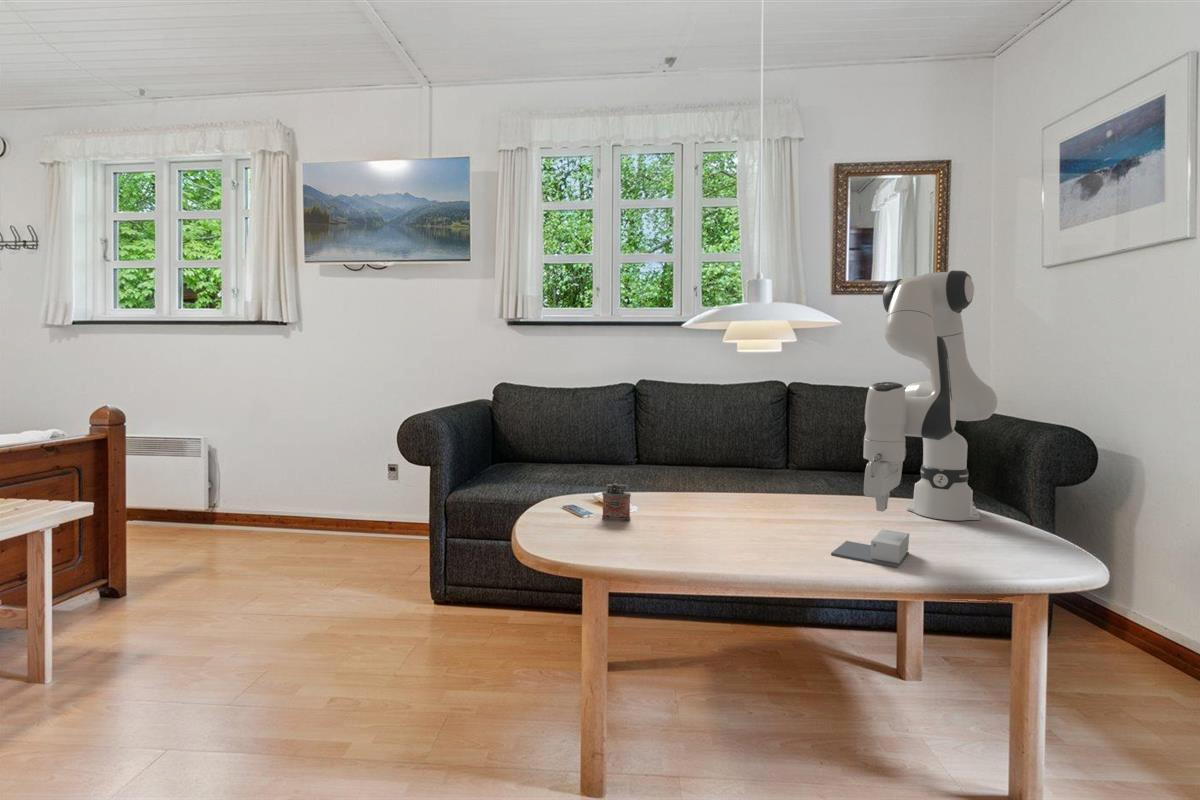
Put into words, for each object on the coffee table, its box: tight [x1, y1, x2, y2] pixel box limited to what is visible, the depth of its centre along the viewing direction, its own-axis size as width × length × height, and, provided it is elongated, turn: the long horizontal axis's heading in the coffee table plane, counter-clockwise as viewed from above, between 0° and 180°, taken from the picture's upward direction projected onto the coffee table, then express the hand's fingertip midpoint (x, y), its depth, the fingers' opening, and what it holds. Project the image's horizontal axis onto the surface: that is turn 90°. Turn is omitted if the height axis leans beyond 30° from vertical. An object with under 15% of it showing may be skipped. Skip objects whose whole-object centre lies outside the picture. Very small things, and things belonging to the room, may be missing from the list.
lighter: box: [601, 483, 632, 522], centre depth 170 cm, size 8×3×10 cm, turn 73°
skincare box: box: [870, 528, 910, 564], centre depth 139 cm, size 6×4×12 cm
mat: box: [830, 540, 910, 569], centre depth 141 cm, size 12×14×1 cm
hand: (881, 510), depth 144 cm, fingers closed
